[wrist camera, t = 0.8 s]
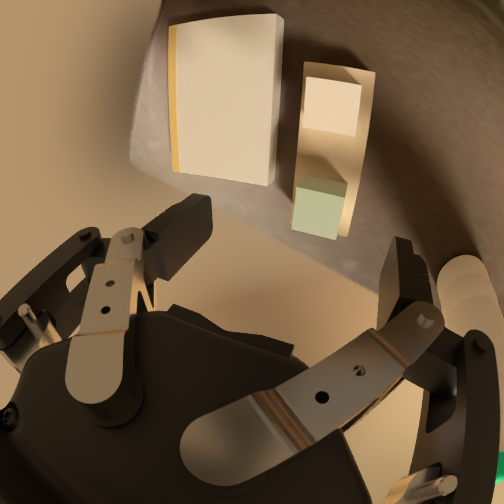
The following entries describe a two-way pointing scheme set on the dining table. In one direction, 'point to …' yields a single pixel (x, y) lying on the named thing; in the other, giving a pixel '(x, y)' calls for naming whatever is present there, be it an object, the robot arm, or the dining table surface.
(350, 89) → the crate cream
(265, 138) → the dock
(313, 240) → the dining table surface
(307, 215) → the block
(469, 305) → the water bottle
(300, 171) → the pallet
